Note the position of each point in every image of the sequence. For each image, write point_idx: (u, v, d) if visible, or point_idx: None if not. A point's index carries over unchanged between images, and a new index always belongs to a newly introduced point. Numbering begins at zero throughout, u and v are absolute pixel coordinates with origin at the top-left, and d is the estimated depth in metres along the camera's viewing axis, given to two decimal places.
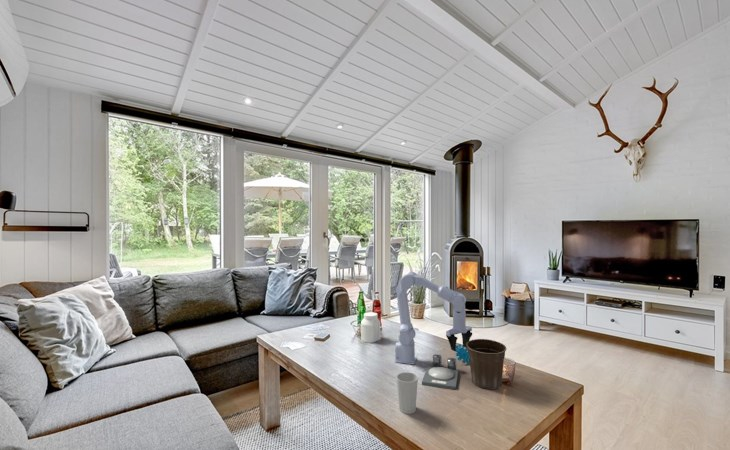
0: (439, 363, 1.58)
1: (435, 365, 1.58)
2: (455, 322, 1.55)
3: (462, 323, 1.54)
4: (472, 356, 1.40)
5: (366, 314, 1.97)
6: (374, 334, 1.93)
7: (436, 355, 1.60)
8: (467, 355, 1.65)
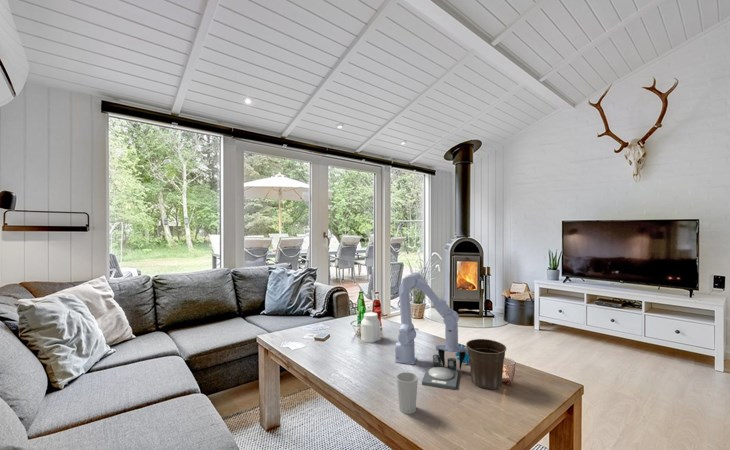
0: (438, 363, 1.58)
1: (435, 365, 1.58)
2: (445, 339, 1.56)
3: (449, 341, 1.53)
4: (472, 356, 1.40)
5: (366, 314, 1.97)
6: (374, 334, 1.93)
7: (436, 355, 1.60)
8: (467, 355, 1.65)
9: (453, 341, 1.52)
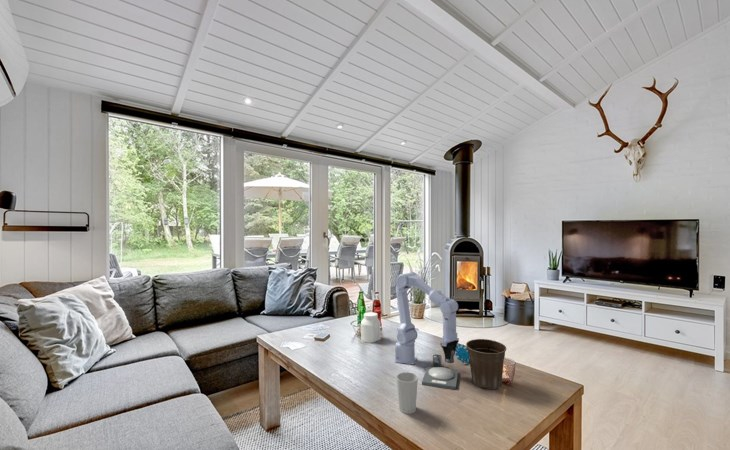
0: (438, 363, 1.58)
1: (435, 365, 1.58)
2: (448, 330, 1.47)
3: (455, 330, 1.47)
4: (472, 356, 1.40)
5: (366, 314, 1.97)
6: (374, 334, 1.93)
7: (436, 355, 1.60)
8: (467, 355, 1.65)
9: None
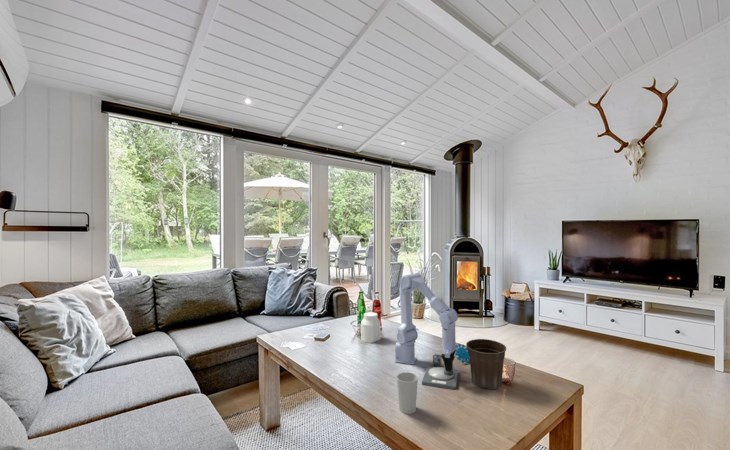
0: (438, 363, 1.58)
1: (435, 365, 1.58)
2: (449, 341, 1.45)
3: None
4: (472, 356, 1.40)
5: (366, 314, 1.97)
6: (374, 334, 1.93)
7: (436, 355, 1.60)
8: (466, 355, 1.65)
9: None
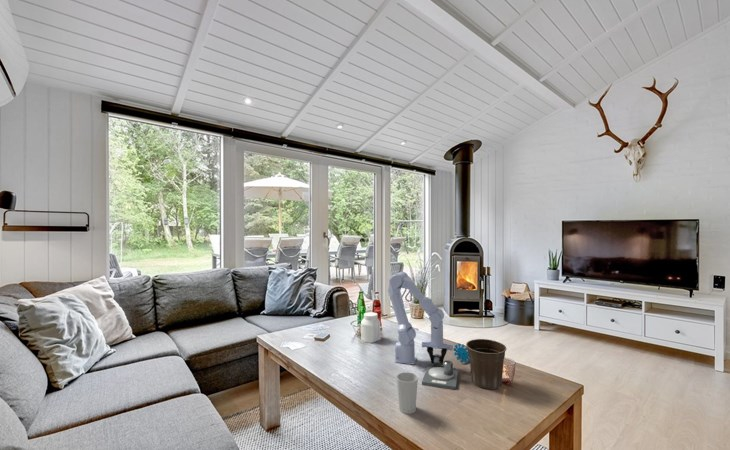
0: (439, 363, 1.58)
1: (435, 365, 1.58)
2: (431, 336, 1.60)
3: (434, 338, 1.57)
4: (472, 356, 1.40)
5: (366, 314, 1.97)
6: (374, 334, 1.93)
7: (436, 355, 1.60)
8: (466, 355, 1.65)
9: (438, 338, 1.57)
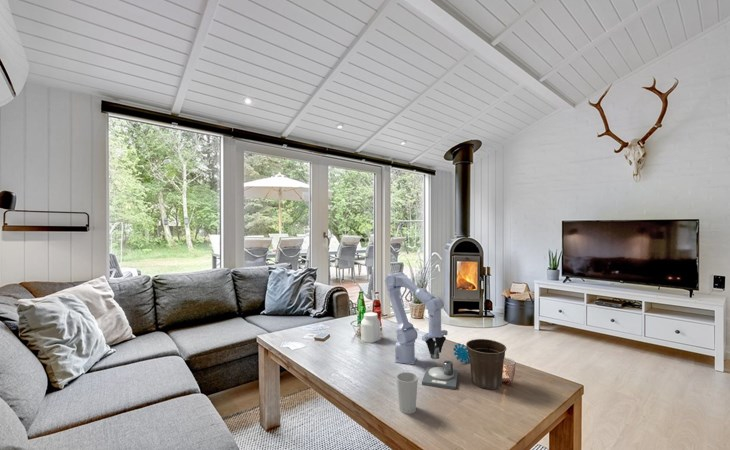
0: None
1: (436, 356, 1.53)
2: (431, 326, 1.52)
3: (438, 327, 1.52)
4: (472, 356, 1.40)
5: (366, 314, 1.97)
6: (374, 334, 1.93)
7: None
8: (466, 354, 1.65)
9: (440, 326, 1.53)
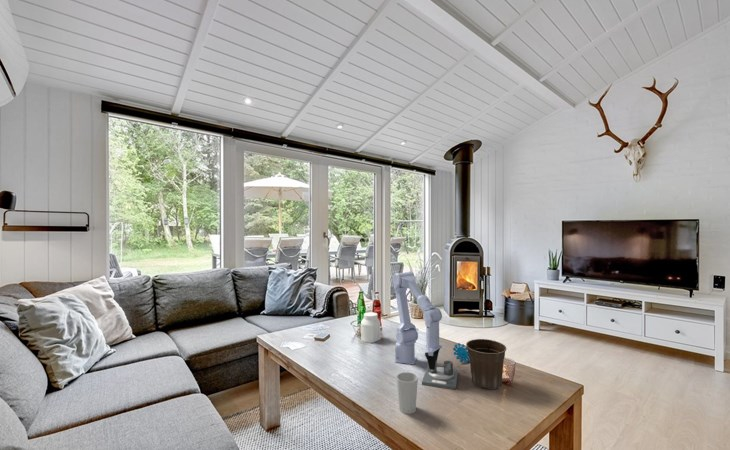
0: None
1: (435, 370, 1.49)
2: (432, 339, 1.47)
3: (438, 338, 1.48)
4: (472, 356, 1.40)
5: (366, 314, 1.97)
6: (374, 334, 1.93)
7: None
8: (466, 354, 1.65)
9: None
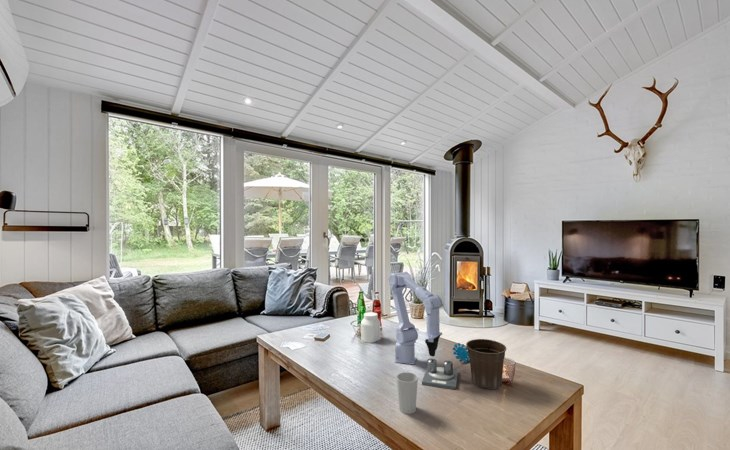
0: None
1: (435, 370, 1.49)
2: (433, 326, 1.48)
3: None
4: (472, 356, 1.40)
5: (366, 314, 1.97)
6: (374, 334, 1.93)
7: (430, 360, 1.50)
8: (465, 354, 1.66)
9: None
